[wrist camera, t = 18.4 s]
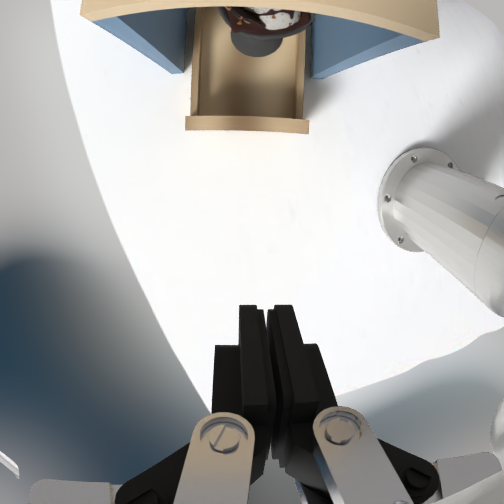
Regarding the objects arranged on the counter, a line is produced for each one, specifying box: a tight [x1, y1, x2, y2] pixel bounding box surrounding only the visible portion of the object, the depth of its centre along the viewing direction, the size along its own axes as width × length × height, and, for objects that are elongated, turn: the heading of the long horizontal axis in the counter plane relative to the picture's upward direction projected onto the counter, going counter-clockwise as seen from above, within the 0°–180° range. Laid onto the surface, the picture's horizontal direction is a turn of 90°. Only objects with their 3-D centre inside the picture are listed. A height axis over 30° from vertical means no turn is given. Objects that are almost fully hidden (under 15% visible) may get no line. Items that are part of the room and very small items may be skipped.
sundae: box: [217, 6, 316, 57], centre depth 17 cm, size 7×7×15 cm
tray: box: [185, 6, 309, 134], centre depth 23 cm, size 10×14×5 cm
